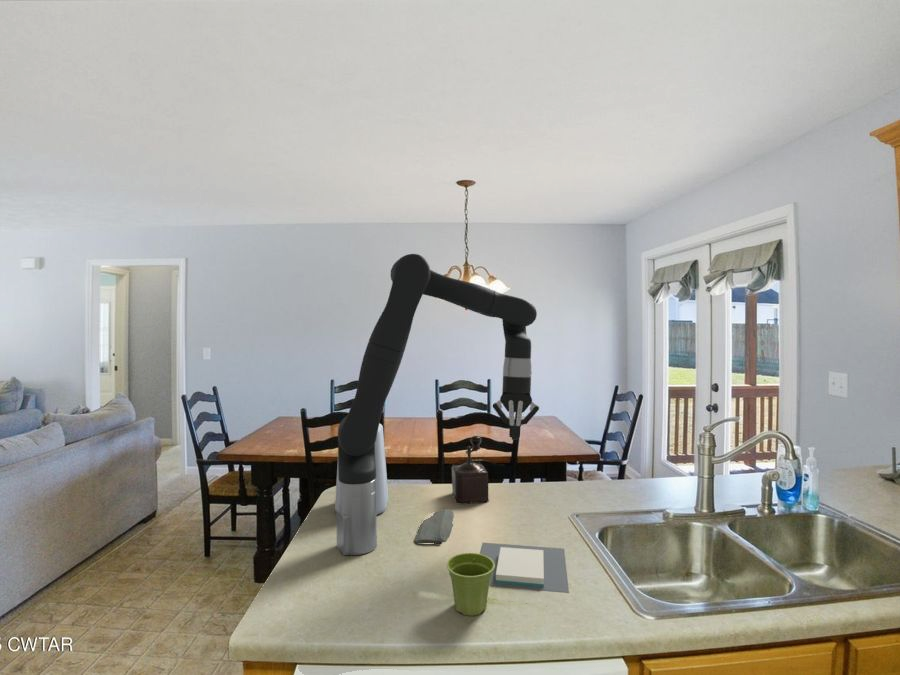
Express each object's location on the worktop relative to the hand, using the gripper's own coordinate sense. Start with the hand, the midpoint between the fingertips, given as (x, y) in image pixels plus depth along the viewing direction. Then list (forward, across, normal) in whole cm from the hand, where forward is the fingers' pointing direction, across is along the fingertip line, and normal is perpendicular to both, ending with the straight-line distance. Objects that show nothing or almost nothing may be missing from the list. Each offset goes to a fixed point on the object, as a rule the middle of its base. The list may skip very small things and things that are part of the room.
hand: (514, 439), depth 132 cm
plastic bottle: (+26, -46, +11) cm, 54 cm away
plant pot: (+27, -6, -37) cm, 46 cm away
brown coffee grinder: (+24, -15, +27) cm, 39 cm away
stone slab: (+26, -20, 0) cm, 33 cm away
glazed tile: (+24, +3, -15) cm, 28 cm away
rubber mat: (+26, +3, -20) cm, 32 cm away
